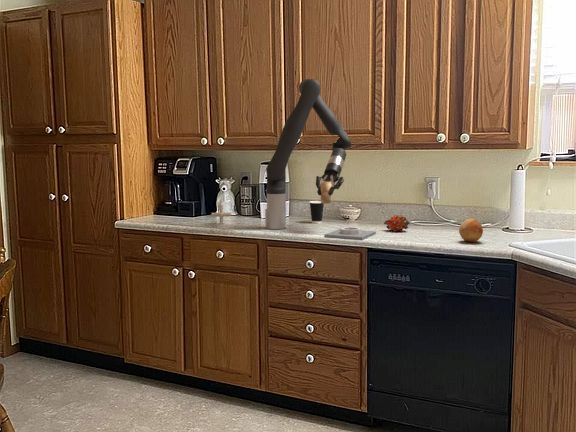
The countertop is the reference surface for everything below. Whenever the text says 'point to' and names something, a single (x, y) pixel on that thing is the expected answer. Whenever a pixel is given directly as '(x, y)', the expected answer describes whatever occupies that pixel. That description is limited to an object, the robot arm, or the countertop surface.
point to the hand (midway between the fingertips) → (324, 194)
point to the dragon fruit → (397, 223)
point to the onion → (471, 230)
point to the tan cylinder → (325, 192)
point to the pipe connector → (221, 214)
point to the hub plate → (350, 233)
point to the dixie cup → (316, 211)
